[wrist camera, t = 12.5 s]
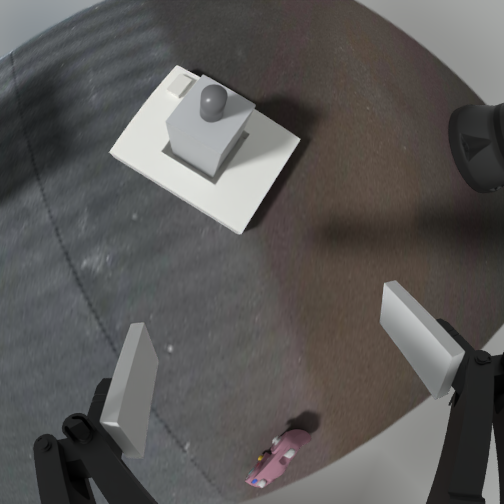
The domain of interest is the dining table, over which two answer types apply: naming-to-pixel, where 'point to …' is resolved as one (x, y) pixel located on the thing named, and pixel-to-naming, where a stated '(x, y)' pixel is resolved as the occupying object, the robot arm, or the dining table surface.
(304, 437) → the video game controller
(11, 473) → the dining table surface
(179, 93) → the socket plate
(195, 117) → the plug
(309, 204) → the dining table surface
